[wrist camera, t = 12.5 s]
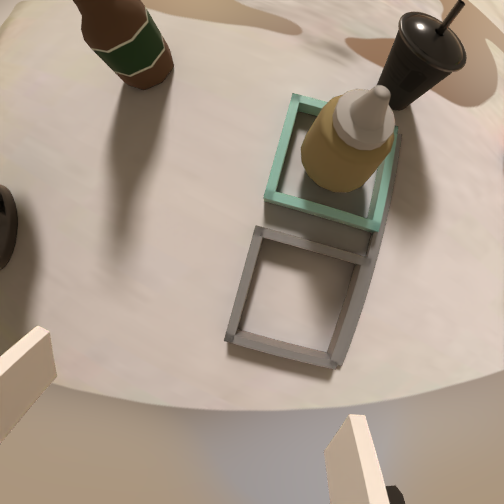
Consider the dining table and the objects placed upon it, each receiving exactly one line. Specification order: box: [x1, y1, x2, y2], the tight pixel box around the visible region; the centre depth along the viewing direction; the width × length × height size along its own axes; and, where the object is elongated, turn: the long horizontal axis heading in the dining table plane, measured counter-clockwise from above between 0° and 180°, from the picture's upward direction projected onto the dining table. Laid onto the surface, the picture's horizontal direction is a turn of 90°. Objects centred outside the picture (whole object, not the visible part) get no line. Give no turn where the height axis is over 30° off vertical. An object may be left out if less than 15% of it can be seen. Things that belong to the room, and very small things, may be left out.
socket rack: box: [224, 93, 402, 370], centre depth 32 cm, size 14×29×2 cm, turn 164°
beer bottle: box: [73, 0, 174, 90], centre depth 23 cm, size 8×8×24 cm
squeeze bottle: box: [301, 85, 395, 192], centre depth 24 cm, size 8×8×18 cm
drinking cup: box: [377, 0, 466, 110], centre depth 22 cm, size 8×8×20 cm
